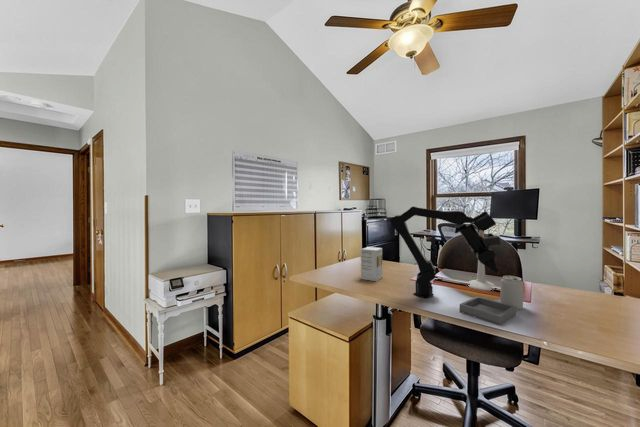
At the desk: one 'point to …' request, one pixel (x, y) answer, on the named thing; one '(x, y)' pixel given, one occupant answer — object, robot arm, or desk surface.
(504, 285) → the can
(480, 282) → the candlestick
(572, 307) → the desk surface
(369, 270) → the supplement box
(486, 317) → the well tray
